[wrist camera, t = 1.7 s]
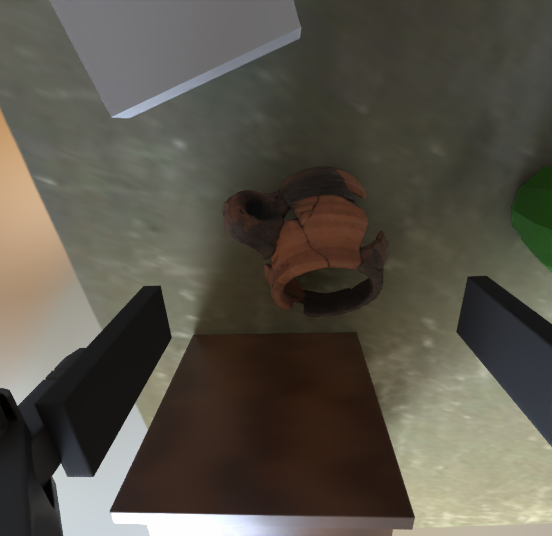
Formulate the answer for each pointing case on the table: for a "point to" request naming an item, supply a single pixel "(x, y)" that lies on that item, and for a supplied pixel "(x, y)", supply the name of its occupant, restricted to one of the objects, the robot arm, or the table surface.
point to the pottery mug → (310, 238)
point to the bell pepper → (535, 215)
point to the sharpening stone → (169, 43)
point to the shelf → (267, 444)
